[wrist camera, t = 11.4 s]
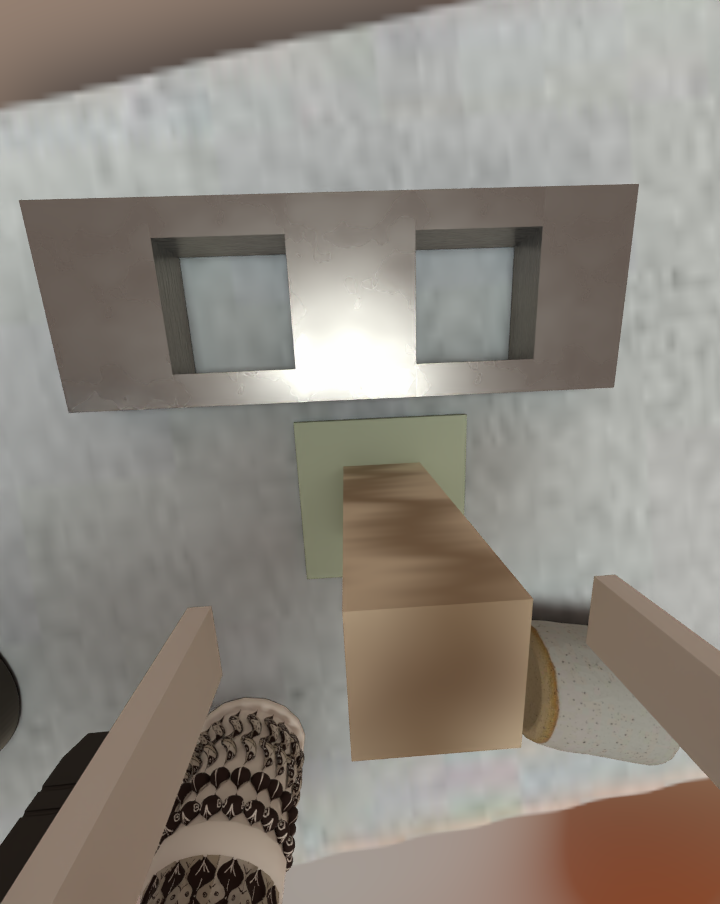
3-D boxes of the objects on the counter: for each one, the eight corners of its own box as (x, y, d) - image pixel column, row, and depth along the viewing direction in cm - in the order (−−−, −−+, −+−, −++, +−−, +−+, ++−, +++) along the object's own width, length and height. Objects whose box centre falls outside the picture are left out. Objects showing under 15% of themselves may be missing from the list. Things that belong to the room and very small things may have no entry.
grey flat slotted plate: (106, 406, 22) (68, 412, 19) (68, 226, 19) (18, 200, 16) (578, 385, 23) (613, 387, 20) (596, 211, 20) (638, 183, 17)
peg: (347, 537, 24) (351, 761, 10) (343, 466, 23) (342, 611, 9) (419, 532, 24) (520, 747, 10) (419, 462, 23) (533, 599, 9)
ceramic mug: (504, 595, 26) (568, 689, 19) (607, 605, 27) (709, 699, 19) (475, 707, 28) (520, 829, 21) (569, 713, 29) (647, 834, 22)
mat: (307, 575, 25) (307, 579, 24) (294, 422, 22) (293, 423, 22) (460, 565, 25) (462, 569, 25) (464, 413, 23) (466, 414, 22)
